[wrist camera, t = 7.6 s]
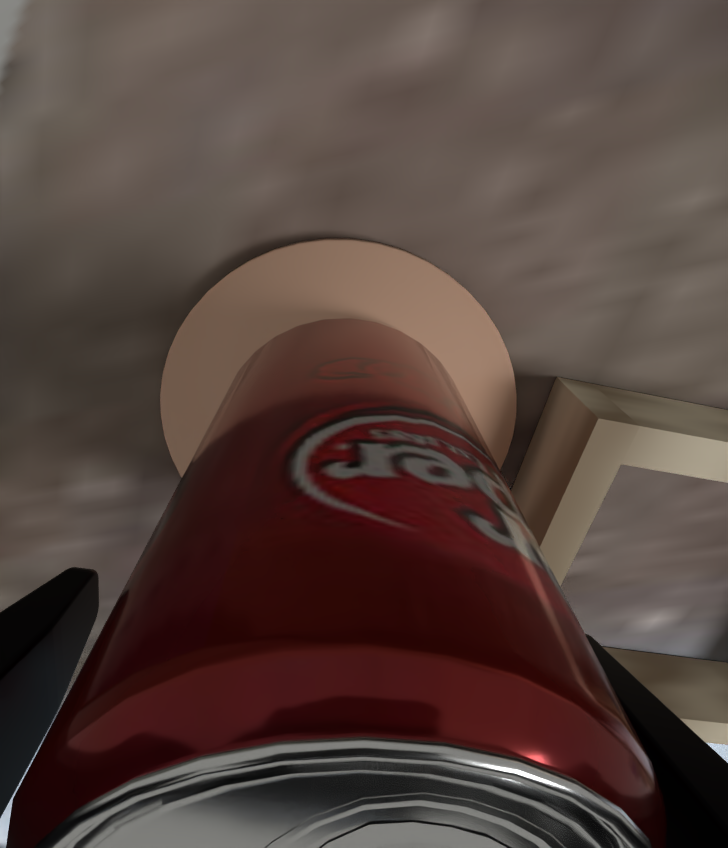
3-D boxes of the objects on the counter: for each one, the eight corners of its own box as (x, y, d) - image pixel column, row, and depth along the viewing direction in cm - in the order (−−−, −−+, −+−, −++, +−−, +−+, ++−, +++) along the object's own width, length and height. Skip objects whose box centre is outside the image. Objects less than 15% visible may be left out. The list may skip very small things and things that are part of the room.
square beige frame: (935, 450, 18) (1039, 500, 15) (748, 685, 23) (800, 752, 21) (556, 377, 16) (598, 418, 14) (448, 648, 22) (462, 716, 19)
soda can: (389, 262, 14) (545, 574, 3) (496, 461, 17) (767, 975, 6) (176, 390, 15) (-216, 905, 5) (308, 553, 18) (258, 1103, 8)
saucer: (563, 282, 15) (571, 286, 14) (455, 569, 20) (459, 581, 19) (174, 197, 14) (167, 199, 13) (159, 528, 18) (154, 538, 18)
